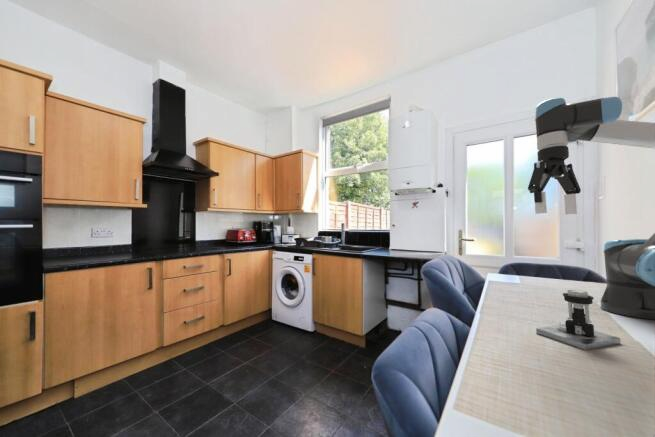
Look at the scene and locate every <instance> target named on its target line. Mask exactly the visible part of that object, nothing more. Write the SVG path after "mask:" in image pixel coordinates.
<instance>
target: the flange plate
mask: <svg viewBox="0 0 655 437" xmlns="http://www.w3.org/2000/svg"><path fill="white" fill-rule="evenodd" d="M558 326H561V327H566V325H563V324H555V325H549V326H543V327H536V328H535V330H536V334H539V335H541V336H543V337H547V338H550V339H552V340H556V341H559V342H560V343H564V344H567V345H570V346H573V347H575V348H578V349H581V350H584V351H589V350H595V349H600V348H602V347H603V348H604V347H608V346H615V345H620V344H621V343H622V341H621V337H619V336H613V335H611V334H607V333H604V332H600V331H596V330H594V336H593V337H588V336H585V335H580V334H576V333H572V332H568V331H566V329H565V328H561V327H558Z"/></svg>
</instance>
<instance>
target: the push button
mask: <svg viewBox="0 0 655 437" xmlns="http://www.w3.org/2000/svg"><path fill="white" fill-rule="evenodd" d="M566 291H567V292H564V293H562V297H563V298H564V299H563V300H564V301H566V302H567V305H568V307H567V308H568V316H567V319H566V320H565V323H564V322H563V323H562V322H560V321H559V322H558V321H557V324H558V325H562V324H563V325H566V327H561V326H558V327H561V328H565V329H566V331H568V332H572V333H576V334H580V335H585V336H588V337H593V336H594V331H595V325H594V324H593V323H592V321H591V320H590V306H589V305H593V300H594V296H592V295H589V294H588V292H587V291H585V290H578V289H567V290H566Z"/></svg>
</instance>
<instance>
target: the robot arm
mask: <svg viewBox="0 0 655 437" xmlns="http://www.w3.org/2000/svg"><path fill="white" fill-rule="evenodd" d="M534 111H535V112H534V113H535V117H534V118H535V119H534V122H535V130H536V145H537V146H536V147H537V148H536V149H537V161H535V162H534V164H533V171H532V174H531V177H530V181H529V183H528V186H527V190H528V191H529V193H530V194H533V197H534V208H535V209H534V210H535V214H547V213H548V212H547V211H548V210H547V198H546V197H547V196H546V195H547V194H546V191H544V190H545V188H546V186H547V184H548V183H549V181H550V180H551V178H553V179H554V180H557V182H558V184H559V185H560V186H561V188H562V189H563V192H565V194H563V198H564V200H563V201H564V211H565V215H577V214H578V212H577V208H578V207H577V194H580V193H581V187H580V184H579V182H578V178H576V174H575V171H574V169H573V164H572V163H566V164H565V160H567V159H569V157H570V153H569V147H568V145H569V144H571V143H574V142H577V141H583V142H585V141H586V142H593V143H602V144H611V145H618V146H627V147H628V146H629V147H636V148H637V147H639V148H645V149H646V148H647V149H653V150H654V149H655V122H652V121H651V122H649V121H636V120H624V119H623V120H622V119H619V118H620V117H621V114H622V111H623V102H622V100H621V98H620V97H619V96H610V97H609V96H608V97H600V98H597V99H591V100H584V101H580V102H579V101H578V102H574V103H567V102H566V100H565V98H564V97H554V98H549V99H547V100H546V99H545V100H543V101H542V102H540V103H538V105H537V106H536V107H535V110H534ZM603 247H604V249H603V255H604V265H605V266H604V267H605V276H606V279H605V280H606V287H605V289H604V291H603V294H602V297H601V299H600V302H599V303H600V308H601V309H602V310H604V311H606V312H609V313H614V314H617V315H621V316H627V317H632V318H639V319H647V320H655V232H654V233H653V234H652V235H651V236H650V237H649V238H647V239H645V238H633V239H631V238H630V239H615V240H609V241H606V242H605V243H604V246H603Z"/></svg>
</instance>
